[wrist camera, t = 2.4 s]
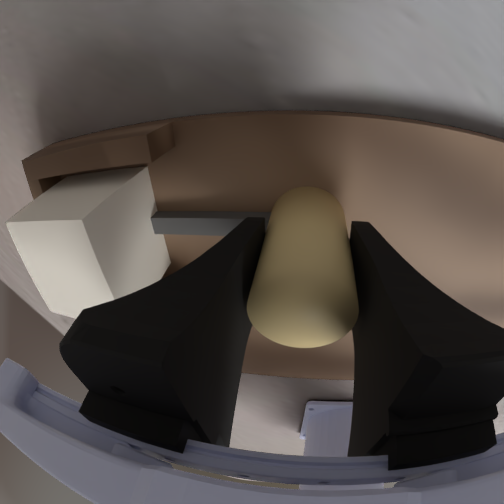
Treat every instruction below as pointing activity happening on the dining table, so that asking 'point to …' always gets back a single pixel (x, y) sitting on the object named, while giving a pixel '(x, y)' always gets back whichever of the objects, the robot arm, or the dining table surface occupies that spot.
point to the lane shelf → (324, 177)
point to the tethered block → (188, 223)
